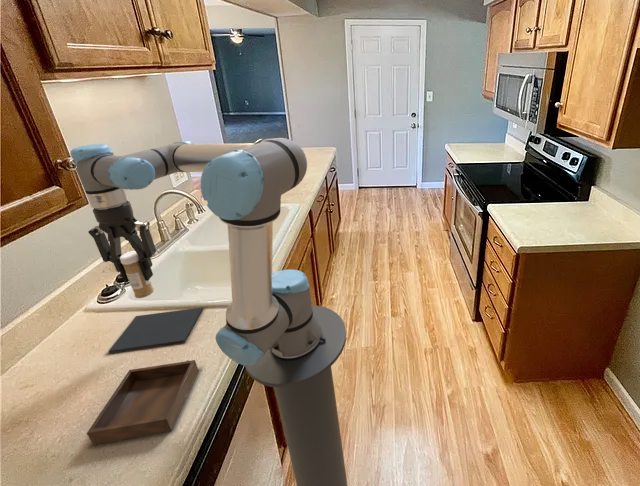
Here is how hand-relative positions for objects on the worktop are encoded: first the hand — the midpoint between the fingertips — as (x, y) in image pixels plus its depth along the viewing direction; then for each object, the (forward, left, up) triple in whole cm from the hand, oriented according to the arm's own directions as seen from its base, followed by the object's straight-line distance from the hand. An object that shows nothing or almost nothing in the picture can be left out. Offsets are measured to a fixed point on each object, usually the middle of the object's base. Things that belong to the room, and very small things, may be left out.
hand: (139, 278), depth 93 cm
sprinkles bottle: (0, 0, -6) cm, 6 cm away
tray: (-10, +25, -20) cm, 33 cm away
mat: (0, -1, -20) cm, 20 cm away
